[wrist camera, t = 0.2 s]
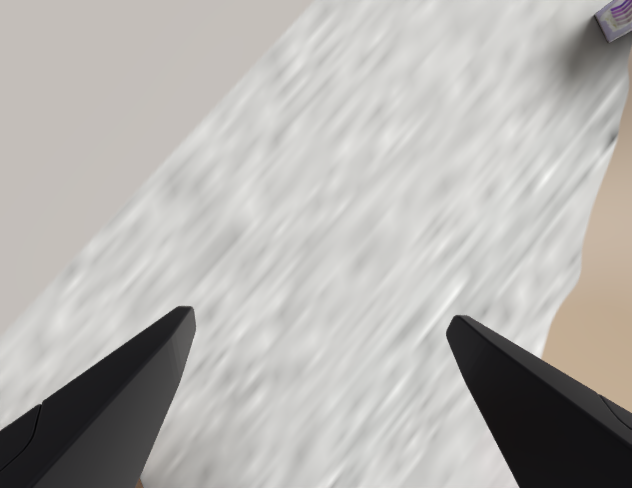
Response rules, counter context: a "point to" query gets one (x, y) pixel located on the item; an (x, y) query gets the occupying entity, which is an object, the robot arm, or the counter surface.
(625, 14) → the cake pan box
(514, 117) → the counter surface
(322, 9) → the counter surface
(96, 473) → the robot arm
